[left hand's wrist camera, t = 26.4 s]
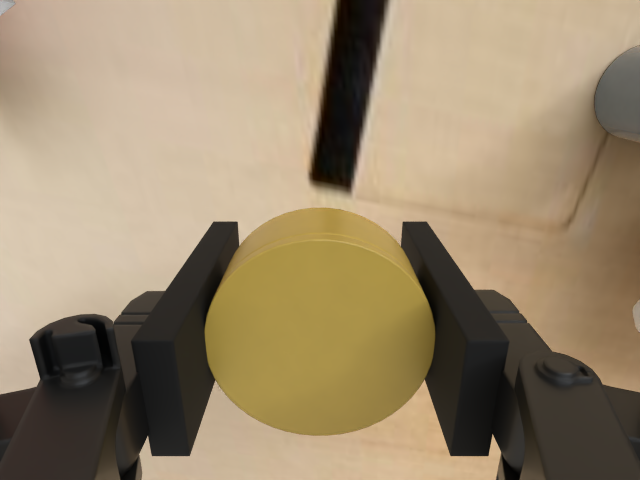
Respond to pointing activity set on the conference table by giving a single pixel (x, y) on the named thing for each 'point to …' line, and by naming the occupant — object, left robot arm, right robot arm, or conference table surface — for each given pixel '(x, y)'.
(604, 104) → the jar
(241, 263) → the lid
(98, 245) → the conference table surface
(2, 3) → the multicoloured piece
